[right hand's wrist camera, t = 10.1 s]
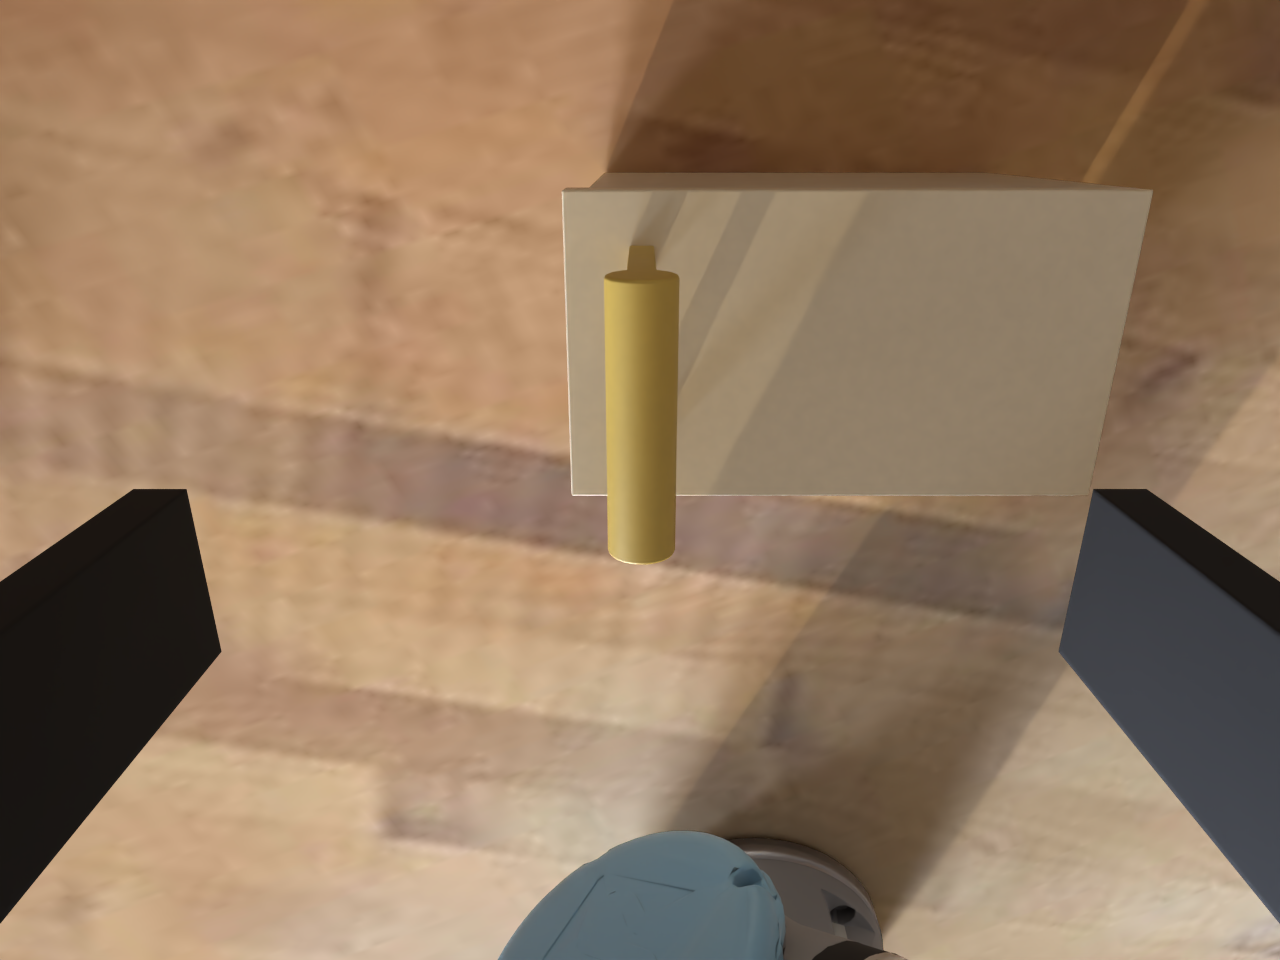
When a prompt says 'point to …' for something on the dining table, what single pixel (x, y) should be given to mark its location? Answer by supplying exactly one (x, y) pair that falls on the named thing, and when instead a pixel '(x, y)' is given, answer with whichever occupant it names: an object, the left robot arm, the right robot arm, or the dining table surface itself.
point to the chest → (831, 180)
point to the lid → (839, 343)
